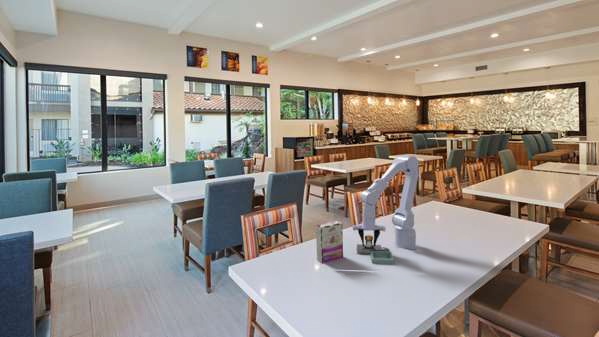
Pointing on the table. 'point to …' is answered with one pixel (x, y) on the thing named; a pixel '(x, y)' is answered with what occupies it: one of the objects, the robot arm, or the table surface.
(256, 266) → the table surface
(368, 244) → the pin
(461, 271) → the table surface
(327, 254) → the candy bar box
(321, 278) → the table surface
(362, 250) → the plate
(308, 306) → the table surface
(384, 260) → the tray
